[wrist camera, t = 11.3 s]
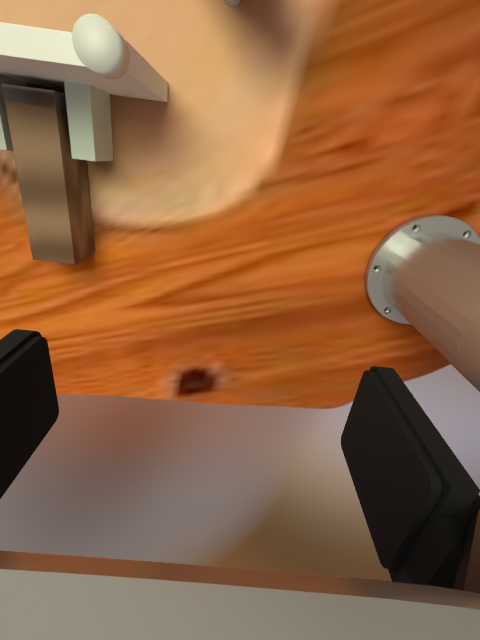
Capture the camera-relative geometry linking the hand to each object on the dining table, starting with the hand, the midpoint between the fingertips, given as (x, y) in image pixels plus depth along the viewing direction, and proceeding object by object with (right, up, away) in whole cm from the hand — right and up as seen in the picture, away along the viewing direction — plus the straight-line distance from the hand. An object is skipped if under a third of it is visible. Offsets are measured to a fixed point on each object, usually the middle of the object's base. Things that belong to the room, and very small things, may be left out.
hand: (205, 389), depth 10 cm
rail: (-16, +16, +23) cm, 33 cm away
